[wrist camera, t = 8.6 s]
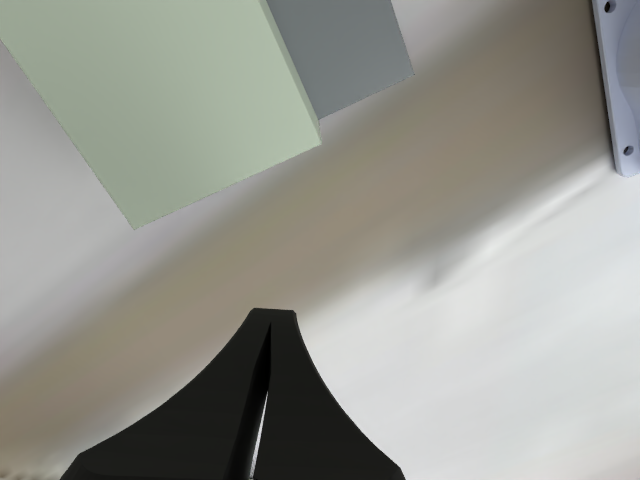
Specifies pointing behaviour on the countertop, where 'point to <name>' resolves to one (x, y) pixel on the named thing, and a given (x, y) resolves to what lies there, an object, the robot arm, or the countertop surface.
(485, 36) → the countertop surface
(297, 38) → the plate
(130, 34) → the block
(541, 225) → the countertop surface
